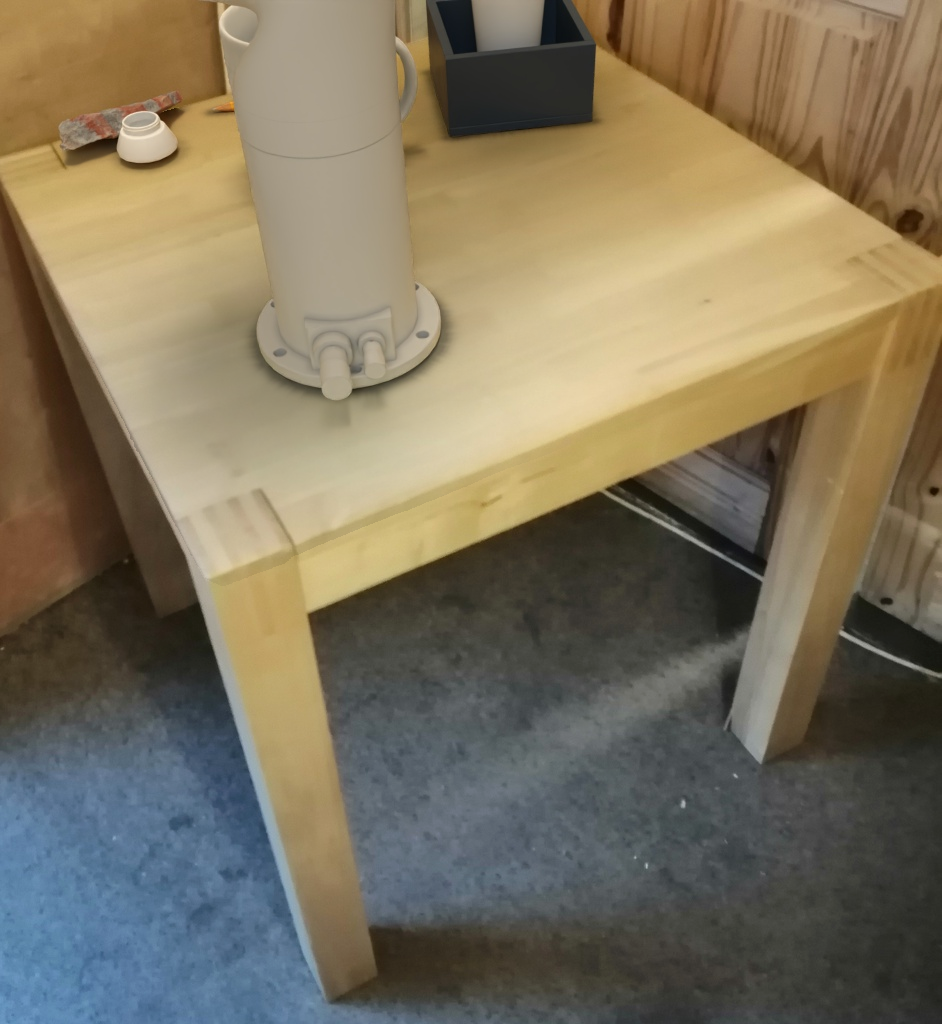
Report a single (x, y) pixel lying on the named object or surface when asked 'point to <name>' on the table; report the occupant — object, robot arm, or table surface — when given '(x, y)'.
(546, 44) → the bin
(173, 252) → the table surface
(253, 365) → the table surface
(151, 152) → the lidless jar
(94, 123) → the stone
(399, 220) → the robot arm
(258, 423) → the table surface
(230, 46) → the mug
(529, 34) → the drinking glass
